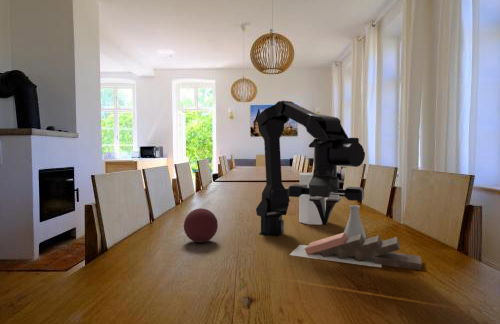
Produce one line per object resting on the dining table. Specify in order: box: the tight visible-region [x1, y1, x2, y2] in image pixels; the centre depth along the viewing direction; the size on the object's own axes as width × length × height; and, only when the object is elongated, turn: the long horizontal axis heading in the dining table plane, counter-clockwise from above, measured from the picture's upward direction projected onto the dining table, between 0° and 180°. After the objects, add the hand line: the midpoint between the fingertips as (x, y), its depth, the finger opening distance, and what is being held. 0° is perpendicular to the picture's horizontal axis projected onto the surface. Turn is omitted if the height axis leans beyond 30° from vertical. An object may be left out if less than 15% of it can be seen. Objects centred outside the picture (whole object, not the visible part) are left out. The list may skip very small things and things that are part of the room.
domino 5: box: [374, 251, 422, 271], centre depth 79 cm, size 2×6×10 cm
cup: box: [298, 172, 328, 226], centre depth 125 cm, size 11×11×18 cm
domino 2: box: [321, 234, 364, 257], centre depth 84 cm, size 2×6×10 cm
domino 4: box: [355, 236, 400, 261], centre depth 80 cm, size 2×6×10 cm
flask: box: [343, 204, 368, 239], centre depth 103 cm, size 7×7×10 cm
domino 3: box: [338, 235, 382, 259], centre depth 82 cm, size 2×6×10 cm
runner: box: [289, 244, 383, 268], centre depth 85 cm, size 22×10×1 cm, turn 66°
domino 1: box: [305, 231, 347, 255], centre depth 86 cm, size 2×6×10 cm
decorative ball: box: [183, 207, 219, 244], centre depth 98 cm, size 10×10×10 cm
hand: (324, 225), depth 86 cm, fingers closed
